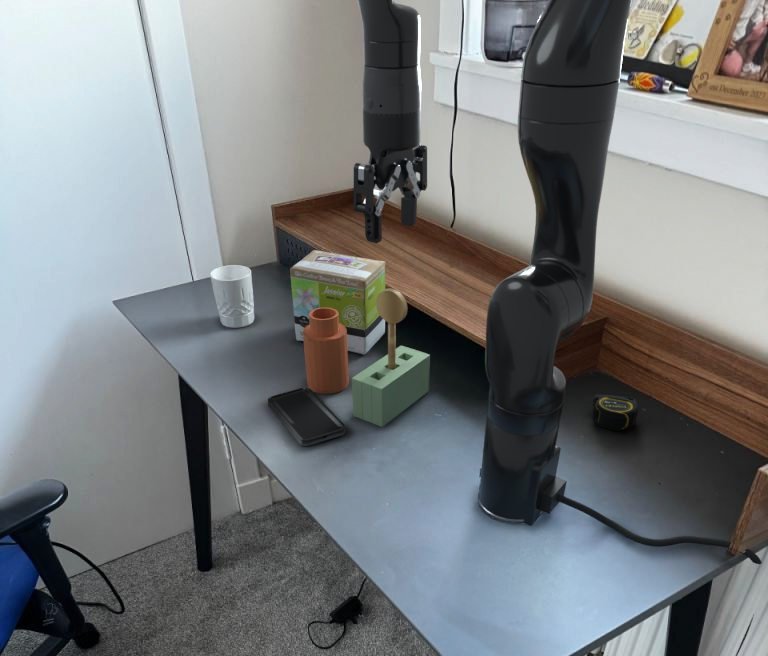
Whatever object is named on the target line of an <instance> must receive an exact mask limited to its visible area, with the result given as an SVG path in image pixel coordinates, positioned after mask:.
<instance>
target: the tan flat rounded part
mask: <svg viewBox="0 0 768 656" xmlns="http://www.w3.org/2000/svg"><path fill="white" fill-rule="evenodd" d="M376 306H377V310H378V312H379V314H380V316H381V317H382V318H383V319H384V320H385V323H387V354H388V369H391V370H394V369H396V348H397V346H396V345H397V343H396V342H397V339H396V338H397V336H396V334H397V333H396V330H397V328H396V326H397V324H398V323H400V322H402V321H404V319H406V317H407V315H408V302H407V300H406V298H405V296H404V295H403V294H402V293H401V292H400V291H399V290H397V289H396V288H391V287H390V288H385V290H384V291H382V292H381V293H380V294H379V295H378V297H377V300H376Z"/></svg>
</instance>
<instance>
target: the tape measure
mask: <svg viewBox="0 0 768 656" xmlns="http://www.w3.org/2000/svg"><path fill="white" fill-rule="evenodd" d="M592 412H593V413H592V417H593V420H594V421H595V423H596V424H597V425H599V426H601V427H603V428H605V429H609V430H614V431H615V430H617V431H618V430H619V431H620V430H621V431H622V430H623V431H624V430H627V429H630V428H632V427H633V426H634V425H635V423H636V421H637V419H638V414H639V406H638V402H637V400H636V399H635V398H633V397H628V396H621V395H620V396H619V395H608V394H600V393H599V394H597V393H596V394H595V395H594V396H593V399H592Z"/></svg>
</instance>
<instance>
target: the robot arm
mask: <svg viewBox="0 0 768 656" xmlns="http://www.w3.org/2000/svg"><path fill="white" fill-rule="evenodd" d="M631 4H632V0H547V2H546V4H545V6H544V8H543V10H542V12H541V14H540V15H539V19H538V20H537V22H536V24H535V27H534V29H533V31H532V33H531V35H530V37H529V40H528V43H527V45H526V49H525V52H524V56H523V60H522V66H521V75H520V78H521V79H520V86H519V87H520V88H519V89H520V90H519V101H518V112H517V140H518V146H519V151H520V155H521V159H522V162H523V166H524V169H525V172H526V175H527V178H528V182H529V184H530V187H531V190H532V195H533V198H534V204H535V226H534V234H533V235H534V236H533V243H532V251H531V255H530V260H529V263H528V266H527V267H525V268H523V269H521V270H519V271H517V272H515V273H513V274H511V275H510V276H508V277H506V278H504V279H503V280H502V281H500V282H499V283H497V285H496V287H495V288H494V290H493V291H492V293H491V296H490V298H489V302H488V307H487V314H486V324H485V325H486V326H485V346H484V347H485V349H484V350H485V351H484V368H485V370H484V371H485V374H486V377H487V380H488V384H489V385H488V387H489V388H488V398H487V409H486V417H485V426H484V427H485V428H484V438H483V448H482V459H481V468H480V469H479V478H480V480H479V488H478V494H477V504H478V506H479V508H480V510H481V512H483V513H484V514H485V515H487V516H488V517H489V518H491V519H493V520H496V521H497V522H502V523H504V524H517V525H519V524H525V525H527V526H530V527H531V526H533V525H534V524H535V523H536V522H537V521H538V519H539V518H540V517H542V515H543V514H544V513H546V514H547V515H550V514H551V513H552V512H553V510H554V509H556V507H557V506H558V505H559V504H560V503H561V504H563V505H566V506H568V507H571V508H573V509H575V510H577V511H579V512H581V513H584V514H586V515H588V516H590V517H591V518H593V519H595V520H596V521H598V522H600V523H602V524H603V525H605V526H607V527H609V528H611V529H612V530H614V531H615V532H617V533H618V534H620V535H622V536H623V537H625V538H627V539H628V540H630V541H632V542H634V543H637V544H641V545H644V546H647V547H648V546H649V547H658V548H659V547H661V548H662V547H668V546H675V545H680V544H681V545H682V544H695V545H705V546H715V547H722V548H727V549H730V548H729V546H730V544H731V541H732V540H728V539H723V538H714V537H703V536H695V535H679V536H672V537H668V538H660V539H659V538H648V537H645V536H641V535H638V534H636V533H634V532H632V531H631V530H629V529H627V528H625V527H624V526H622V525H621V524H619V523H618V522H616V521H614V520H612V519H611V518H609V517H607V516H605V515H603V514H602V513H600V512H598V511H597V510H595V509H593V508H591V507H590V506H587V505H585V504H583V503H581V502H578V501H577V500H574V499H572V498H570V497H567V496H565V492H566V488H567V480H566V479H564V478H561V477H558V476H557V472H558V466H559V460H560V455H561V450H562V449H561V447H560V446H557V441H558V435H559V429H560V423H561V418H562V412H563V408H564V407H563V406H564V400H565V395H566V390H567V380H566V376H565V374H564V373H563V372H562V370H560V368H558V367H557V366H555V359H556V358H555V357H556V351H557V346H558V344H559V343H561V342H562V341H564V340H566V339H567V338H568V337H570V336H572V335H573V334H574V333H575V332H576V331H578V330H579V329H580V328H581V327H582V326H583V324H584V323H585V322H586V320H587V318H588V317H589V314H590V311H591V308H592V304H593V298H594V297H593V296H594V286H595V270H596V269H595V267H596V266H595V265H596V247H597V245H596V242H597V228H598V219H599V209H600V205H601V204H600V203H601V198H602V192H603V186H604V185H603V184H604V179H605V174H606V165H607V160H608V159H607V157H608V152H609V146H610V145H609V144H610V139H611V134H612V129H613V124H614V120H615V119H614V118H615V112H616V106H617V99H618V93H619V86H620V78H621V71H622V64H623V55H624V47H625V40H626V33H627V26H628V21H629V15H630V9H631ZM357 5H358V9H359V14H360V19H361V23H362V38H363V42H362V45H363V73H362V85H361V86H362V90H361V93H362V126H363V127H362V132H363V133H362V134H363V135H362V137H363V140H362V141H363V143H364V146H365V147H367V148H368V150H369V152H370V153H369V160H368V163H360V162H355V163H354V165H353V211H354V212H356V213H361V214H363V215H364V227H365V228H364V230H365V231H364V235H365V238H366V241H367V242H369V243H374V244H379V243H381V242H382V241H383V240H382V239H383V227H382V224H383V222H382V221H383V220H382V215H383V214H382V211H383V209H384V206H385V203H386V201H389V200H390V198H391V195H392V192H395V191H396V190H397V189H399V191H400V193H401V195H402V197H401V198H400V222H401V225H403V226H408V227H414V226H415V225H416V224H417V217H418V216H417V213H418V212H417V211H418V199H419V198H420V196H421V192H422V191H424V192H425V191H426V190H427V188H428V147H427V145H423V144H420V143H421V125H422V122H421V121H422V75H421V35H422V31H421V30H422V29H421V28H422V27H421V26H422V23H421V17H420V14H419V11H418V10H417V9H416V8H414V7H412V6H410V5H406V4H401V3H396V2H395V1H394V0H357ZM417 173H418V174H419V179H418V177H417ZM375 187H377V188H378V189H376V188H375ZM363 195H364V200H363ZM374 199H376V202H375V204H374V201H375V200H374ZM747 548H748V549H746V550H745V551H746V552H745V553H742V552H740V553H741V554H742V555H744V556H746V557H747V558H749V560H750V561H751V562H752V563H753V564H756V565H761V564H762V560H761V558H760V557H759V555H757V554H756V553H755V551H753V550H751V549H750V548H749V547H747ZM754 616H755V614H753V615H752V617H751V619H750V621H749V624H748V627H747V629H746V631H745V633H744V635H743V638H742V640H741V642H740V644H739V646H738V649H737V651H736V654H735V656H738V655H739V653H740V651H741V648H742V647H743V645H744V642H745V640H746V638H747V636H748V633H749V631H750V628H751V625H752V622H753V619H754Z"/></svg>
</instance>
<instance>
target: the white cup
mask: <svg viewBox="0 0 768 656" xmlns="http://www.w3.org/2000/svg"><path fill="white" fill-rule="evenodd" d="M209 277H210V281H211V286H212V292H213V296H214V300H215V303H216V308H217V311H218V315H219V320H220V323H221V325H222V326H225V327H226V328H233V329H236V328H237V329H239V328H245V327H247V326H250V325H251V324H253V323H254V321H255V303H254V289H253V288H254V287H253V278H252V269H251V268H249V267H248V266H245V265H239V264H229V265H222V266H218V267H216V268H214V269H213V270H211V271H210V273H209Z"/></svg>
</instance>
